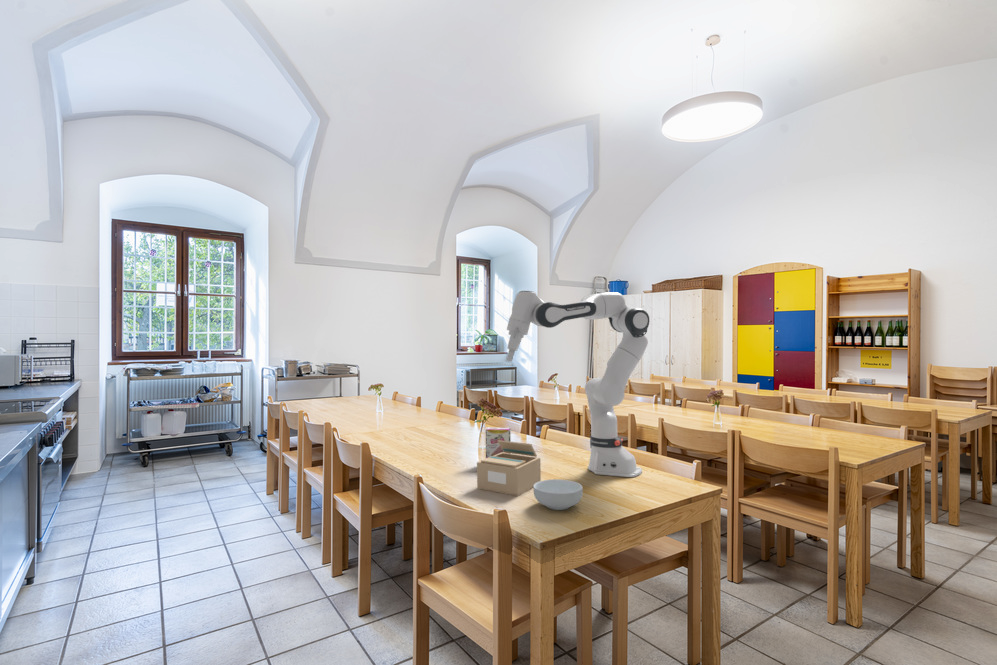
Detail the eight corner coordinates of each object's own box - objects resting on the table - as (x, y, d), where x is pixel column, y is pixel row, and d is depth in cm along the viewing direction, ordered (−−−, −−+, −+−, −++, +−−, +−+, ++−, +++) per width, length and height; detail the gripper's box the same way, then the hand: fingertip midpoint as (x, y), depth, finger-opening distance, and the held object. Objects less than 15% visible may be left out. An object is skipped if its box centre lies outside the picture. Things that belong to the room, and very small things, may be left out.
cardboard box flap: (536, 457, 198) (537, 455, 199) (530, 445, 194) (531, 444, 195) (503, 452, 206) (504, 451, 207) (497, 441, 202) (498, 440, 203)
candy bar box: (485, 465, 224) (485, 429, 224) (486, 462, 229) (486, 427, 229) (510, 466, 223) (510, 429, 223) (511, 463, 228) (510, 427, 228)
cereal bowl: (592, 505, 173) (592, 484, 173) (564, 519, 160) (564, 497, 160) (552, 494, 184) (551, 475, 184) (523, 507, 172) (523, 486, 171)
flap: (481, 461, 192) (481, 460, 192) (492, 457, 199) (492, 455, 199) (515, 467, 184) (515, 465, 184) (525, 462, 191) (525, 460, 191)
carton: (540, 483, 198) (540, 457, 198) (517, 496, 183) (517, 468, 183) (501, 476, 208) (501, 452, 208) (477, 488, 192) (476, 462, 192)
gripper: (525, 329, 196) (516, 363, 196) (525, 331, 217) (517, 362, 216) (509, 325, 197) (500, 359, 196) (511, 327, 217) (503, 358, 217)
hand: (509, 360), depth 206 cm, fingers open, 8 cm apart
